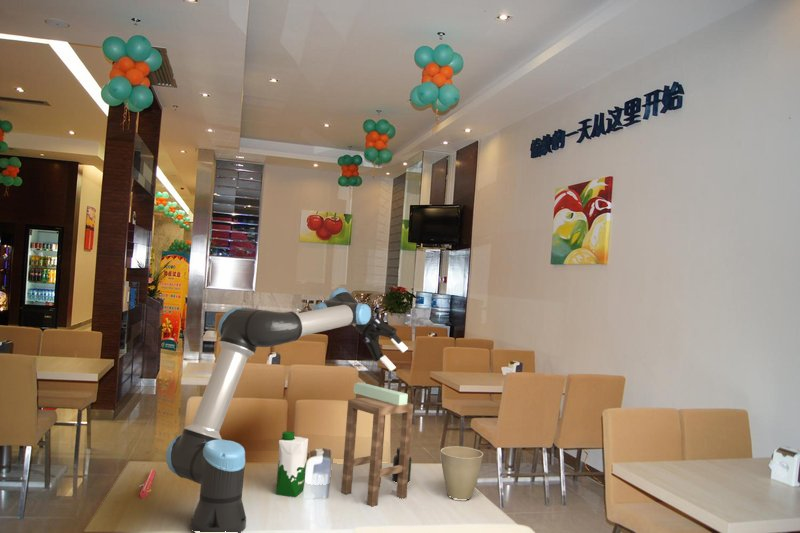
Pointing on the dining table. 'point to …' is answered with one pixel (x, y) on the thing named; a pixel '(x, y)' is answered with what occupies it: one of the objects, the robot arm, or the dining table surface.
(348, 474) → the walnut stool
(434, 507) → the dining table surface
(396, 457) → the supplement bottle
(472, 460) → the plant pot
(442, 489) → the dining table surface
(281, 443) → the milk carton
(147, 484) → the red long bar
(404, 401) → the green block
